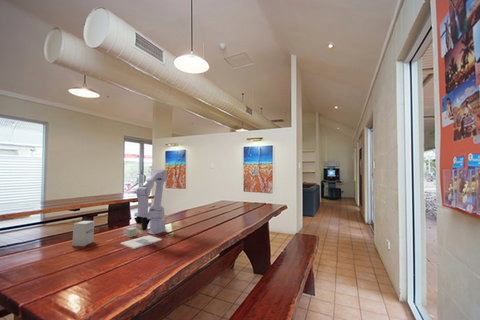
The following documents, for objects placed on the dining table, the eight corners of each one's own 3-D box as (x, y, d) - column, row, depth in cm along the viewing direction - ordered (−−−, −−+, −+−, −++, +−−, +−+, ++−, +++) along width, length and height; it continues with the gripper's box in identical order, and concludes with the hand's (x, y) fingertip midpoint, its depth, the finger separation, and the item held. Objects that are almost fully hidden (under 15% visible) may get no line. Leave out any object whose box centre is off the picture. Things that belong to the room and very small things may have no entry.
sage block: (132, 234, 141) (132, 227, 141) (136, 235, 138) (136, 228, 139) (125, 236, 137) (126, 228, 137) (129, 237, 134) (129, 229, 135)
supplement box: (84, 246, 118) (85, 223, 119) (71, 246, 118) (72, 223, 119) (93, 242, 126) (94, 220, 126) (81, 241, 126) (82, 220, 126)
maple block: (143, 230, 129) (143, 222, 129) (147, 232, 127) (147, 223, 127) (136, 232, 125) (136, 224, 126) (140, 233, 123) (140, 225, 123)
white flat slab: (148, 236, 137) (148, 235, 137) (161, 240, 130) (162, 239, 130) (120, 244, 122) (120, 242, 122) (133, 249, 114) (133, 247, 115)
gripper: (130, 206, 128) (129, 229, 127) (143, 209, 120) (143, 233, 119) (140, 205, 133) (140, 226, 133) (154, 207, 126) (154, 230, 125)
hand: (142, 229), depth 126 cm, fingers closed on maple block, 4 cm apart
